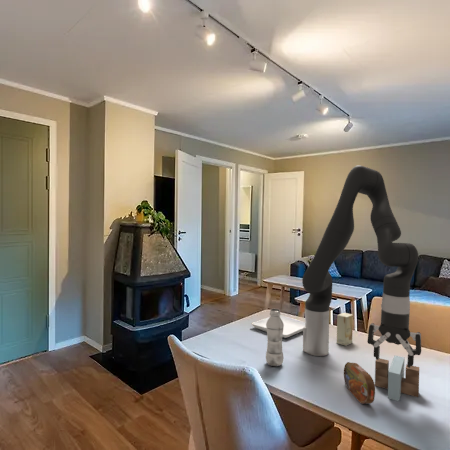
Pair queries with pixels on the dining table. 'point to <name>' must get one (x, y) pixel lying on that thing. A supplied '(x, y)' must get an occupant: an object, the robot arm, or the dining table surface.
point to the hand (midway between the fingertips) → (392, 362)
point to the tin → (359, 383)
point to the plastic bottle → (274, 338)
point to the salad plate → (289, 323)
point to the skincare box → (344, 328)
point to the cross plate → (395, 377)
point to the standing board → (407, 384)
